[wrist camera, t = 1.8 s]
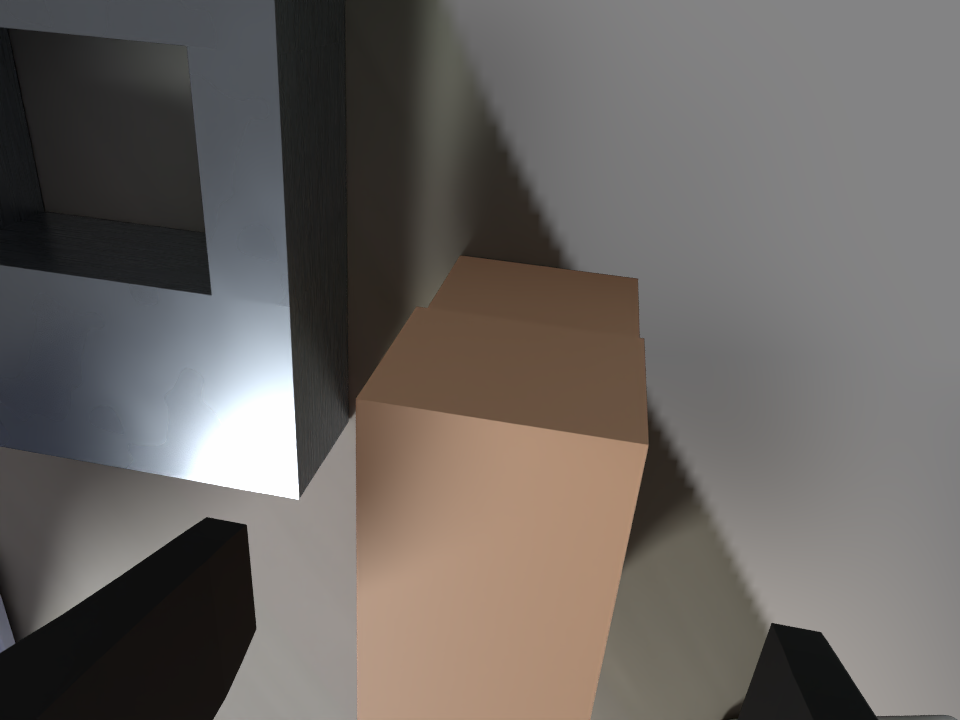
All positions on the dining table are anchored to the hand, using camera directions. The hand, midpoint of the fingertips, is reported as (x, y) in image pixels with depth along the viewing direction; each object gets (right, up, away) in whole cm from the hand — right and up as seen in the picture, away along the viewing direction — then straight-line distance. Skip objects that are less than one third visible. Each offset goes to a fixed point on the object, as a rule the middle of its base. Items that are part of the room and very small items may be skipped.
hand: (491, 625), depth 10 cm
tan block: (+1, +2, +4) cm, 4 cm away
